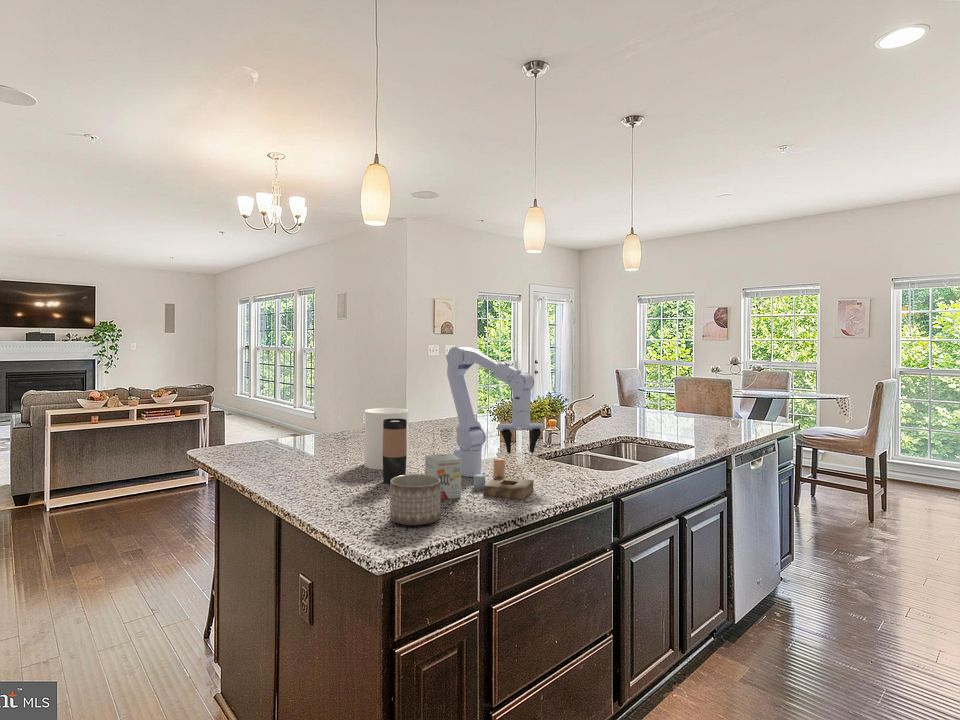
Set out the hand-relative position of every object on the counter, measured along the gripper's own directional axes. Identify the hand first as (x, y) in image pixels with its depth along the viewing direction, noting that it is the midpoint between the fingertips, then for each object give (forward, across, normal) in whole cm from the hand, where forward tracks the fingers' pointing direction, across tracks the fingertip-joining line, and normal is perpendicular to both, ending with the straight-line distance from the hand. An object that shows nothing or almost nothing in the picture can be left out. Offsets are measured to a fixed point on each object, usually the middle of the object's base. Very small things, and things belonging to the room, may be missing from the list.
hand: (520, 452), depth 173 cm
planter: (+10, -37, -30) cm, 49 cm away
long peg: (+10, -7, 0) cm, 12 cm away
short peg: (+10, -14, -3) cm, 18 cm away
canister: (+11, -41, +34) cm, 54 cm away
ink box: (+10, -26, -9) cm, 30 cm away
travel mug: (+11, -40, +9) cm, 42 cm away
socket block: (+10, -6, -10) cm, 15 cm away
